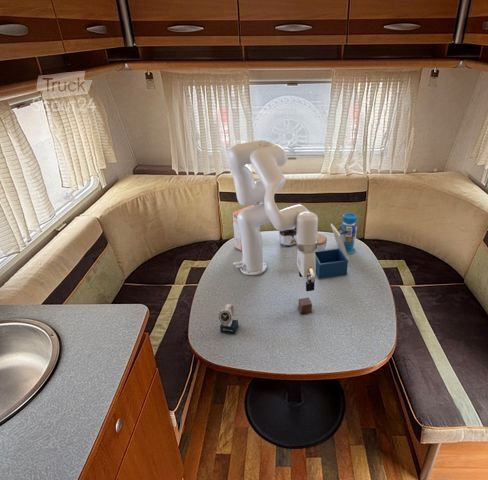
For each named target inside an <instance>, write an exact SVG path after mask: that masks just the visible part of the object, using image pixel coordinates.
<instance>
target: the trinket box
mask: <svg viewBox="0 0 488 480" xmlns="http://www.w3.org/2000/svg"><path fill="white" fill-rule="evenodd" d="M327 242H328V237H327V236H326V235H325V234H322V233H318V235H317V250H316V251H322V250H326V248H327V247H326V246H327Z"/></svg>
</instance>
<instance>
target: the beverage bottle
mask: <svg viewBox="0 0 488 480" xmlns="http://www.w3.org/2000/svg"><path fill="white" fill-rule="evenodd" d="M357 218H358V217H357V215H356V214H355V213H353V212H347V213H344V214H343V215H342V223H341V225H340V226H343V227H344V228H345V229H346V231H347V233H346V234H342V235H341V237H342V240H343V243H344V246H345V249H346V252H347V255H351V254H353V253H354V252H355V251H356V241H357V235H358V231H357V230H358V226H357V224H356V223H357ZM341 232H343V231H342V230H339V233H341Z"/></svg>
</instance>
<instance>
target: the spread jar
mask: <svg viewBox="0 0 488 480" xmlns="http://www.w3.org/2000/svg"><path fill="white" fill-rule="evenodd" d="M278 238H279V242H280V244H281V245H283V246H284V247H287V248H289V247H294V246H295V245H297V226H296V227H293V228H290V229H288V230H285V231H279V230H278Z"/></svg>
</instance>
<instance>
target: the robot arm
mask: <svg viewBox="0 0 488 480" xmlns="http://www.w3.org/2000/svg"><path fill="white" fill-rule="evenodd" d="M287 160H288V157H287V152H286V151H285V149H284V148H283V147H282V146H281V145H279V144H277V143H275V142H272V141H267V140H260V139H259V140H254V141H249V142H243V143H239V144H235V145H232V146H231V147H230V148H229V149H227V152H226V161H227V165H228V167H229V170H230V171H231V173H232V177H233V178H232V179H233V185H234V190H235V194H236V199H237V202H238V204H239V205H240V206H243V207H248V206H250V205H255V204H256V205H255V206H252V207H249V208H246V209H243V208H242V209H243V210H241V211H240V212H239V213H238V215H237V220H238V224H239V228H240V233H241V242H242V251H241V252H242V253H241V254H242V258H241V260H240V261H235V262H234V261H233V263H232V264H233V267H236V269H240V272H241V273H242V274H243V275H246V276H258V275H261V274H263V273H265V272H266V270H267V263H266V262H265V261H264V253H263V251H264V250H263V237H262V233H260V232H261V231H260V232H259V231H258V230H257V228H258V227H260V228H261V227H263V226H265V225H268V224H271V225H272V226H273V227H274V228H275V229H276V230H277V231H278V232H279V231H285V230H288V229H290V228H293V227H296V228H297V244H296V250H297V251H296V266H297V269H298V277H299V278H305V279H306V282H305V292H313V291H315V284H316V283H315V282H316V277H315V276H316V272H315V271H316V260H315V251H316V250H317V235H318V234H319V233H318V231H319V217H318V215H317V214H316V213H315V212H312V211H310V210H309V209H307V207H306V206H304V205H302V204H295V205H292V206H288V207H285V208H283V209H280V210H279V208H278V206H277V204H276V202H275V201H276V200H275V194H276V193H277V192H278V191H280V190H281V189H282V187H284V185H285V184H286V183H287V182H286V181H287V179H286V177H285V175H284V174H283V172H282V170H281V168H280V167H282V166H284V165H286V163H287ZM249 165H251V166H252V167H253V169H254V171H255V172H256V174H257V176H258V178H259V179H257V180H255V178H254V172H253V171H252V169H251V168H250V166H249ZM258 203H259V204H258Z"/></svg>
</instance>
